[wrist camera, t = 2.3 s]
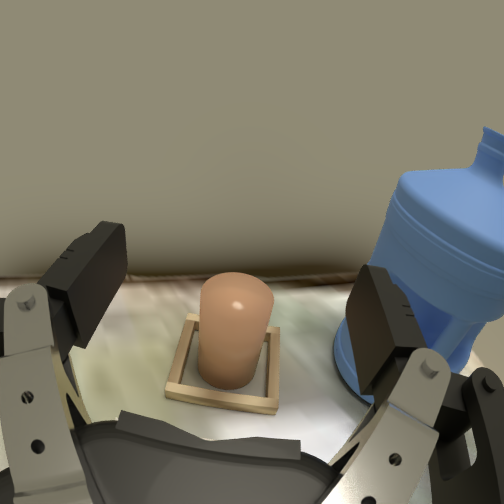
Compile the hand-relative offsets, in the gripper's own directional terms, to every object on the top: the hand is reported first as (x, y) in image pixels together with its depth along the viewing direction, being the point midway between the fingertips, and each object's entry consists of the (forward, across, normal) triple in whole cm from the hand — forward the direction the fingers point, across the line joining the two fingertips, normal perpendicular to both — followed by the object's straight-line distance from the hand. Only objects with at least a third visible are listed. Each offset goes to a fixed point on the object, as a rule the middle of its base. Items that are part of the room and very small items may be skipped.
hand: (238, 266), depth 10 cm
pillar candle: (+12, 0, +21) cm, 24 cm away
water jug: (+14, -20, +21) cm, 32 cm away
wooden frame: (+11, 0, +21) cm, 24 cm away
